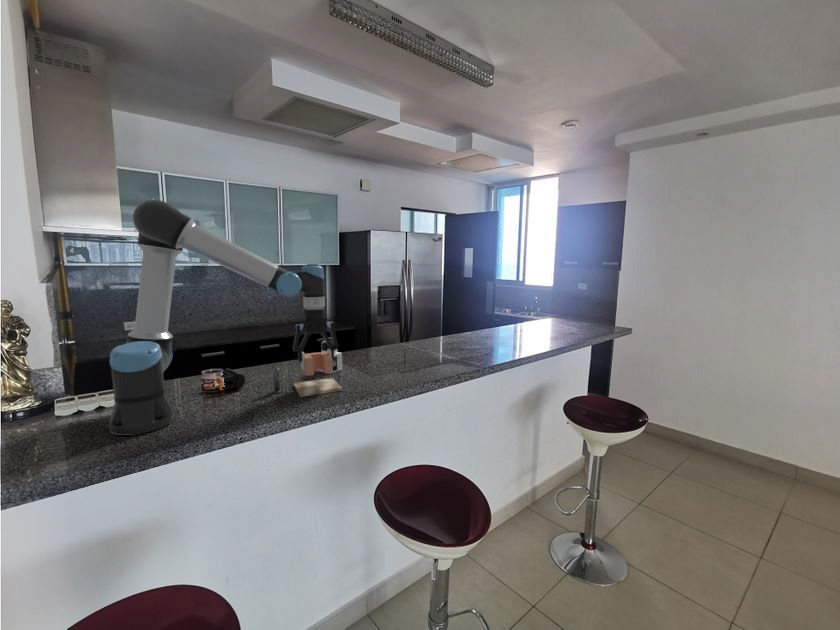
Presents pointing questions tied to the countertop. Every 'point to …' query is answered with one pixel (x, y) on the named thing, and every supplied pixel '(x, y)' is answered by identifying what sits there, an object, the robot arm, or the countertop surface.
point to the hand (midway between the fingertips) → (316, 368)
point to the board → (317, 387)
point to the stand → (276, 380)
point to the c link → (317, 362)
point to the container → (336, 360)
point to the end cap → (232, 380)
